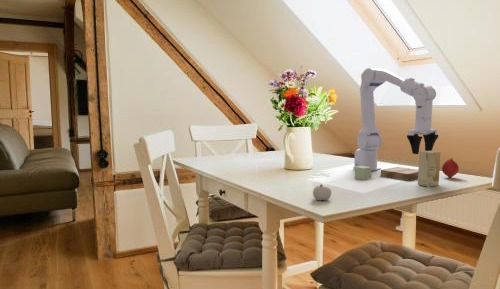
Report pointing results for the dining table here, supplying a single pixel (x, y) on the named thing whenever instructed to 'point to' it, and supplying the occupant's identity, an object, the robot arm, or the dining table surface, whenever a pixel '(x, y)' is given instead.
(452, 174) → the onion
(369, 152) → the robot arm
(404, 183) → the dining table surface
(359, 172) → the sage cube
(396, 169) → the light brown block
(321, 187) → the grey pumpkin
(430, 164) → the skincare box
